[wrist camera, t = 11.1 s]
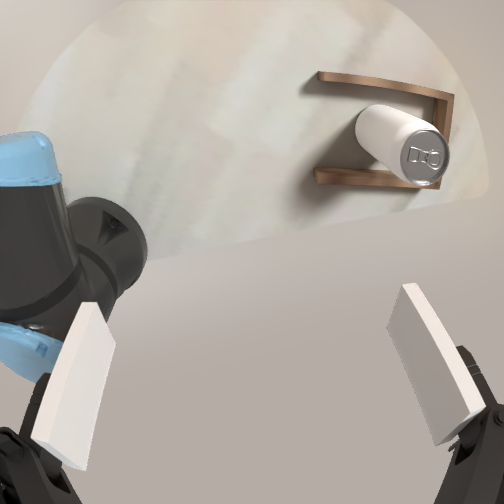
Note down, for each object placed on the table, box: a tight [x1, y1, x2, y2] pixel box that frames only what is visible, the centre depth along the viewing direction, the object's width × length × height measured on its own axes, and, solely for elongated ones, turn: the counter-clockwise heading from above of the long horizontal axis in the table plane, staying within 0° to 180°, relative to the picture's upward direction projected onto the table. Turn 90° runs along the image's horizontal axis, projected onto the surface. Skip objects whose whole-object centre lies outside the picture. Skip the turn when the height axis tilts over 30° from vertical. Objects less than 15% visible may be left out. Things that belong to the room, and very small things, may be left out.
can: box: [355, 105, 450, 186], centre depth 29 cm, size 6×6×12 cm
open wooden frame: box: [314, 71, 454, 190], centre depth 33 cm, size 17×13×3 cm
